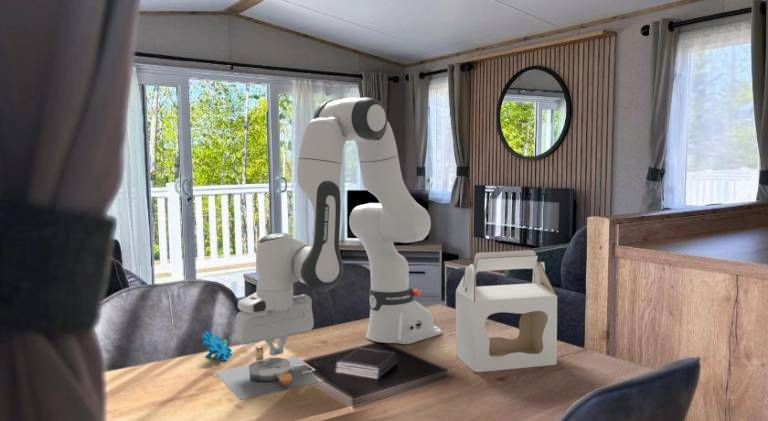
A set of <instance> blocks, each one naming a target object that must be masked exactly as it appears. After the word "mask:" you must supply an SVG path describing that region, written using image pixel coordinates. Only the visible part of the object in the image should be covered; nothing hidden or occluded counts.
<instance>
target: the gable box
mask: <svg viewBox="0 0 768 421" xmlns="http://www.w3.org/2000/svg"><path fill="white" fill-rule="evenodd" d="M538 256H539V255H537V253H536V251H535V250H533V249H527V250H526V249H525V250H523V249H522V250H510V251H509V250H504V251H502V250H501V251H486V252H485V251H483V252H476V253H475V254H474V256H473V262H472V263H471V264H469V265H464V273H463V274H464V275H463V276H462V278H461V280H460V282H459V284H458V286H457V288H456V289H455V355H456V357H457V358H458V359H459V360H460V361H461V362H463V364H465V365H466V366H467V367H468V368H469V369H470V370H471V371H472V372H474V373H476V374H477V373H485V372H496V371H505V370H506V371H507V370H516V369H517V370H518V369H526V368H535V367H536V368H537V367H547V366H557V364H558V362H557V360H558V358H557V357H558V356H557V355H558V354H557V353H558V350H557V349H558V348H557V347H558V342H557V341H558V340H557V337H558V294H557V293H556V291H555V289H554V287H553V285H552V283H551V281H550V279H549V276H548V275H547V273H546V266H545V261H538V258H539V257H538ZM524 269H525V270H526V269H528V270H530V269H532V282H525V283H523V282H522V283H509V284H493V285H477V284H476V283H477V281H476V279H477V278H476V276H477V274H478V272H486V271H487V272H488V271H504V270H507V271H508V270H524ZM498 313H510V314H519V315H520V314H521V315H520V318H519V321H518V328H519V335H518V336H517V337H516V338H512V339H511V338H510V339H509V338H506V337H500V336H495V337H489V334H488V331H487V329H486V320H487V318H488V317H489V316H491V315H494V314H498Z"/></svg>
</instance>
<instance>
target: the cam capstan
mask: <svg viewBox="0 0 768 421" xmlns="http://www.w3.org/2000/svg"><path fill="white" fill-rule="evenodd" d="M249 376H250V379H251V380H254V381H278V382H279V383H280V384H281V385H283V386H288V385H289V384H291V382H292V375H291V374H290V361H289V360H287V359H284V358H282V357H268V358H264V346H262V345H258V346H255V361H254V362H252V363H250V364H249Z"/></svg>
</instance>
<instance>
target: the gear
mask: <svg viewBox="0 0 768 421" xmlns="http://www.w3.org/2000/svg"><path fill="white" fill-rule="evenodd" d="M214 336H215V334H214V332H212V331H209V332H208V331H205V332H204V333H203V334H202V336H201V339H202V340H203V342H202V344H203V346H206V347H207V351H208V353H207V354H206V355H205V356H204V358H205V359H209V358H211V357H212V356H214V357H215V358H216V359H217V360H218V359H220V358H221V359H220V360H221V361H222V362H227V361H228V359H229V360H230V359H231V357H232V356H233V353H232V351H233V350H232V348H231V347H228V346H227V345H228V341H227V339H226V338H225V339H223V341H221V339H222V337H221V336H219V335H218V334H217V335H216V336H215V337H214Z"/></svg>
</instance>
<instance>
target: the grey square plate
mask: <svg viewBox="0 0 768 421" xmlns="http://www.w3.org/2000/svg"><path fill="white" fill-rule="evenodd" d="M283 359H287V360H289V361H290V374H291V375H292V382H291V384H289V385H288V386H283V385H281V384H280V383H279V382H278V381H254V380H251V379H250V376H249V365H250V364H249V365H244V366H239V367H232V368H228V369H223V370H218V371H214V372H213V373H214V374H215V375H216V376H217V377H218V378H219V379H220V380H221V381H222V382H223V383H224V384H225V385H226V386H227V387H228V388H229V389H230V391H231V392H233V393H234V395H236V397H237V398H238V399H239V400H240V401H241V400H246V399H250V398H254V397H255V398H256V397H260V396H264V395H268V394H273V393H274V394H275V393H278V392H282V391H287V390H291V389H296V388H299V387H305V386H309V385H313V384H318V383H322V382H321V381H319V380H318V379H317V378H316V377H315V376H313V375H312V373H310V372H312V371H315V370H317V369H315V368H314V367H312V366H311V365H310V364H308V363H307V362H305V361H303V360H302V359H301V358H299V357H297V356H289V357H285V358H283ZM309 368H311V369H312V370H309Z"/></svg>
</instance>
